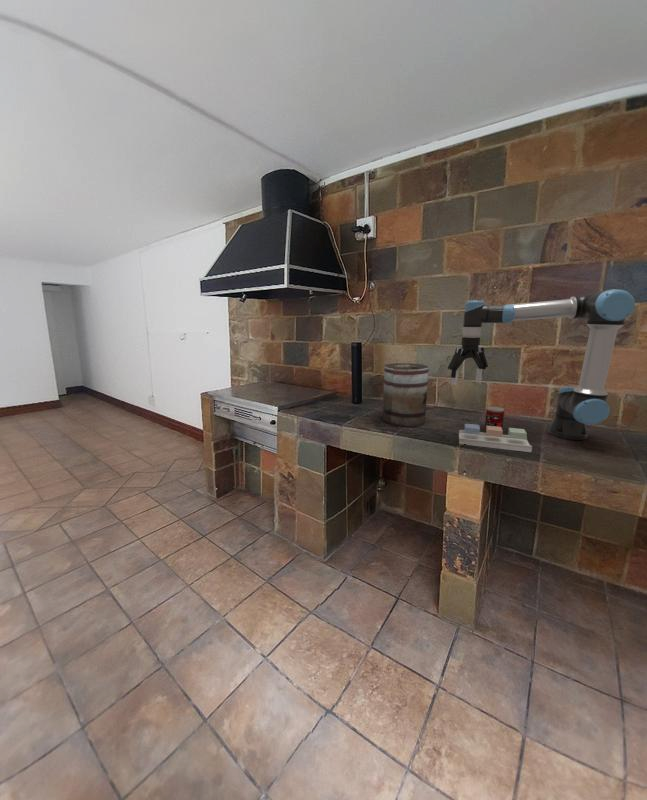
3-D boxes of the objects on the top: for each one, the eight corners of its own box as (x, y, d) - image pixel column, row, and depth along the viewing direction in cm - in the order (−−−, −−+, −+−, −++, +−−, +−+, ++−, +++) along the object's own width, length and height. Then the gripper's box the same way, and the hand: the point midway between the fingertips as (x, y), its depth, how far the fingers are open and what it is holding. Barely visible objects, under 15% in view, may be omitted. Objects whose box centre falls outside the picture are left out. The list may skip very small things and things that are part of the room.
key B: (500, 433, 151) (501, 427, 150) (502, 438, 145) (502, 431, 145) (485, 432, 153) (486, 425, 152) (486, 436, 147) (487, 429, 147)
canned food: (480, 428, 170) (483, 407, 167) (493, 426, 172) (495, 405, 170) (493, 433, 163) (495, 411, 160) (505, 431, 165) (508, 409, 163)
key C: (478, 431, 154) (479, 424, 153) (479, 435, 148) (479, 428, 148) (464, 429, 156) (464, 423, 155) (464, 434, 151) (465, 427, 150)
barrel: (432, 421, 182) (437, 366, 175) (409, 430, 167) (412, 370, 160) (398, 412, 198) (400, 362, 191) (373, 420, 184) (375, 366, 176)
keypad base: (525, 442, 151) (526, 437, 150) (531, 452, 140) (532, 446, 139) (458, 435, 160) (459, 430, 160) (459, 443, 150) (459, 438, 149)
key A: (523, 435, 148) (524, 429, 147) (525, 440, 142) (526, 433, 141) (507, 434, 150) (508, 427, 149) (509, 438, 144) (510, 431, 144)
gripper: (486, 335, 156) (481, 380, 162) (442, 336, 149) (438, 384, 154) (500, 336, 150) (494, 383, 155) (453, 338, 142) (449, 387, 147)
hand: (466, 383), depth 154 cm, fingers open, 13 cm apart
